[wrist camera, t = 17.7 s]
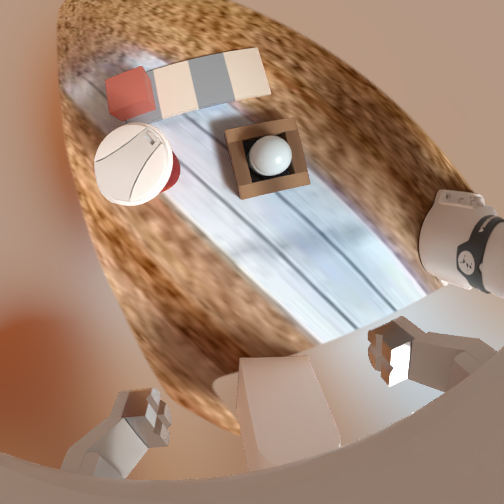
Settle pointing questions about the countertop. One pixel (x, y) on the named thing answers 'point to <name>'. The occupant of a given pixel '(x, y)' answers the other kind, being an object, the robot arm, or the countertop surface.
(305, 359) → the milk
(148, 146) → the paper cup
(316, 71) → the countertop surface
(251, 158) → the dome
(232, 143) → the button box
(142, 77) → the red block
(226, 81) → the track
